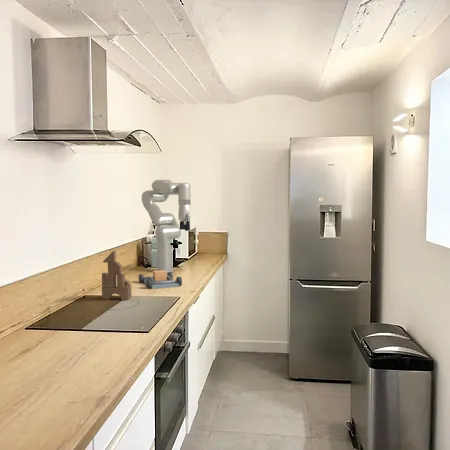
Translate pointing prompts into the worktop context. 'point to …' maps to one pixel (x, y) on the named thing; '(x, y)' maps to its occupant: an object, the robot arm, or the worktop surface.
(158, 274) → the block
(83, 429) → the worktop surface
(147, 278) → the chassis
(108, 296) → the wooden toy
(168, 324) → the worktop surface
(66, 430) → the worktop surface
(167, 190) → the robot arm
